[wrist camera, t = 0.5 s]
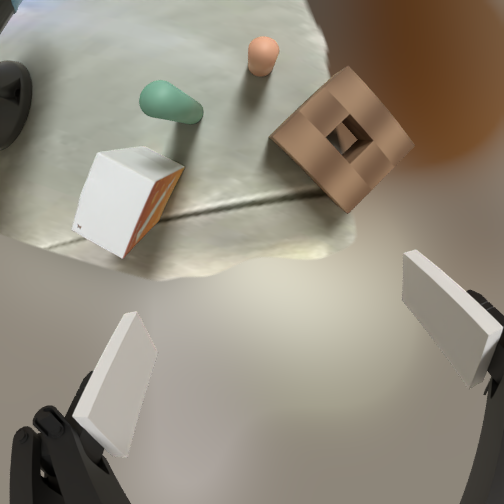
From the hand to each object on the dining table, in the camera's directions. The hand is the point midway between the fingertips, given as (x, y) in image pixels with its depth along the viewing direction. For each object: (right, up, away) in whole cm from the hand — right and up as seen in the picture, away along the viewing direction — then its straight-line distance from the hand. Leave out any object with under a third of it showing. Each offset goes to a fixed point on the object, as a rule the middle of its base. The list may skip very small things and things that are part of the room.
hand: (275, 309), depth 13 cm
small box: (-14, +11, +22) cm, 28 cm away
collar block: (+9, +17, +20) cm, 28 cm away
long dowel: (-8, +19, +19) cm, 28 cm away
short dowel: (0, +25, +16) cm, 30 cm away
